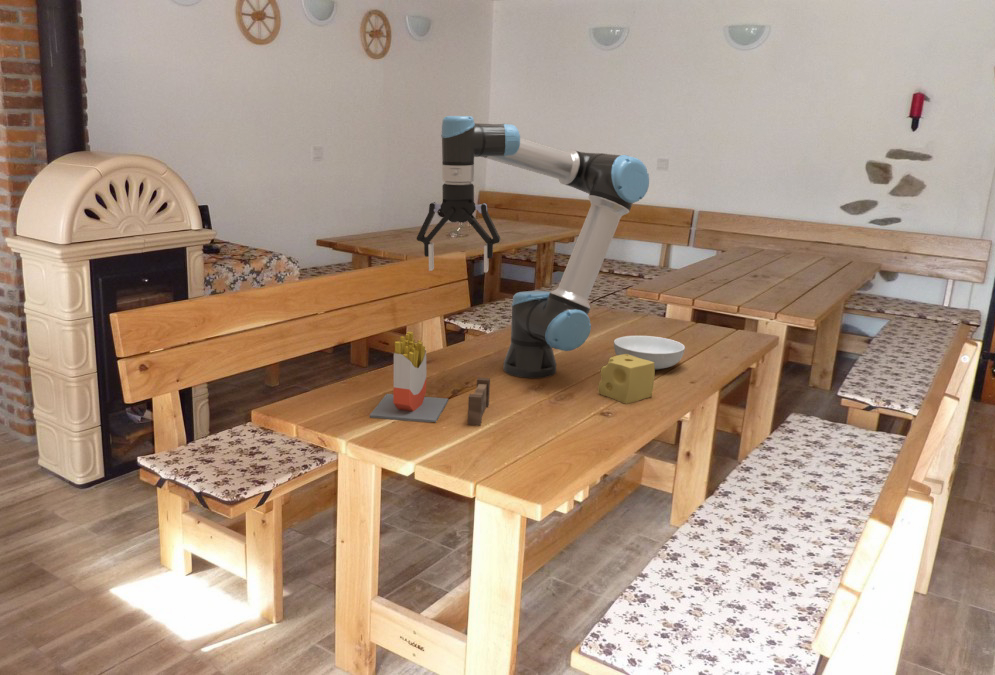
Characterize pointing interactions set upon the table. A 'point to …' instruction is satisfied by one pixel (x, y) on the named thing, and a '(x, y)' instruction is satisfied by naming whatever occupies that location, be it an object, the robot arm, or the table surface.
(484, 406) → the walnut fence
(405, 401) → the french fries container
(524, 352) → the robot arm
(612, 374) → the cheese
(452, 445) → the table surface
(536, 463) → the table surface
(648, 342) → the serving bowl
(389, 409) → the slate mat
